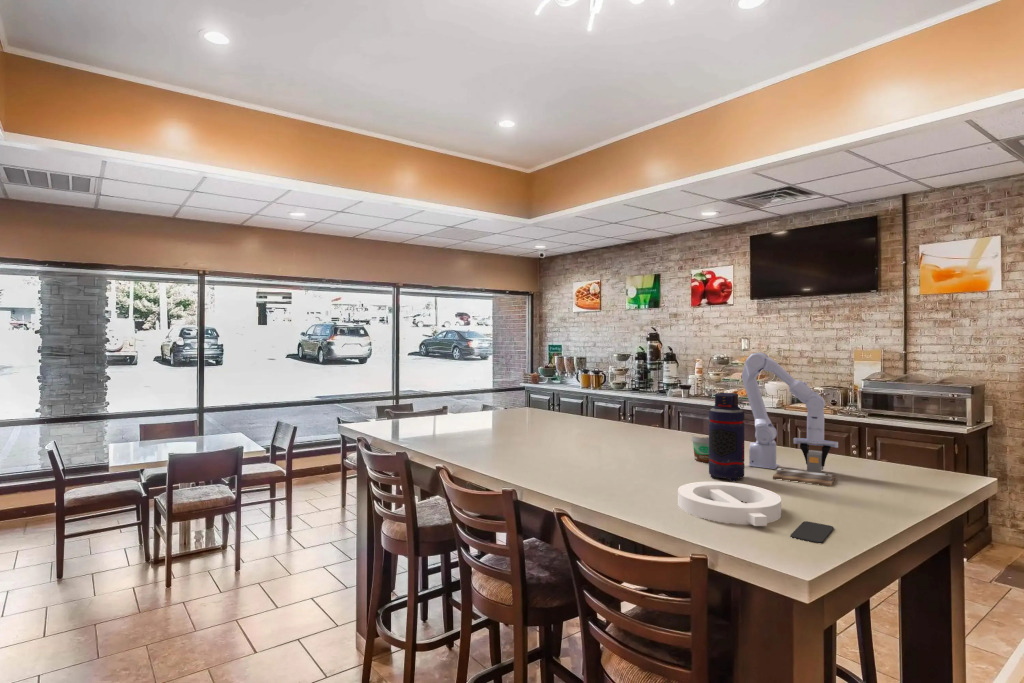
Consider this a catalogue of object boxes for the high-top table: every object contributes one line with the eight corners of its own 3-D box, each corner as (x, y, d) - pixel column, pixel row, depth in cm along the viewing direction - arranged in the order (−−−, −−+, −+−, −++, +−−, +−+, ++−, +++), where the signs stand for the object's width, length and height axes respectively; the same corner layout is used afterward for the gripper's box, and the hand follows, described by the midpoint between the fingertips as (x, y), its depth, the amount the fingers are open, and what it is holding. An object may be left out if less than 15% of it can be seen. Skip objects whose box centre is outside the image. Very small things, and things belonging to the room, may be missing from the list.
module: (806, 471, 208) (806, 453, 208) (810, 467, 214) (810, 450, 214) (820, 473, 205) (820, 455, 205) (823, 469, 212) (823, 451, 212)
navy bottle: (738, 483, 194) (738, 395, 194) (704, 478, 201) (704, 393, 201) (749, 475, 205) (749, 392, 205) (716, 471, 212) (716, 390, 212)
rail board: (772, 479, 200) (772, 471, 200) (779, 472, 210) (779, 465, 210) (831, 486, 189) (831, 478, 189) (834, 479, 199) (834, 471, 199)
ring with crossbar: (699, 491, 185) (699, 477, 185) (792, 508, 167) (792, 491, 167) (662, 512, 163) (662, 495, 163) (764, 533, 145) (764, 514, 145)
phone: (788, 536, 141) (803, 520, 153) (788, 539, 141) (803, 523, 153) (822, 542, 136) (834, 526, 148) (822, 546, 136) (834, 529, 148)
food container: (691, 462, 226) (691, 437, 226) (690, 459, 232) (691, 435, 232) (724, 464, 223) (724, 439, 223) (723, 461, 229) (723, 436, 229)
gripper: (792, 427, 211) (791, 464, 211) (836, 431, 202) (836, 469, 202) (795, 425, 216) (794, 461, 217) (838, 429, 208) (838, 466, 208)
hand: (815, 465), depth 210 cm, fingers closed on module, 4 cm apart
